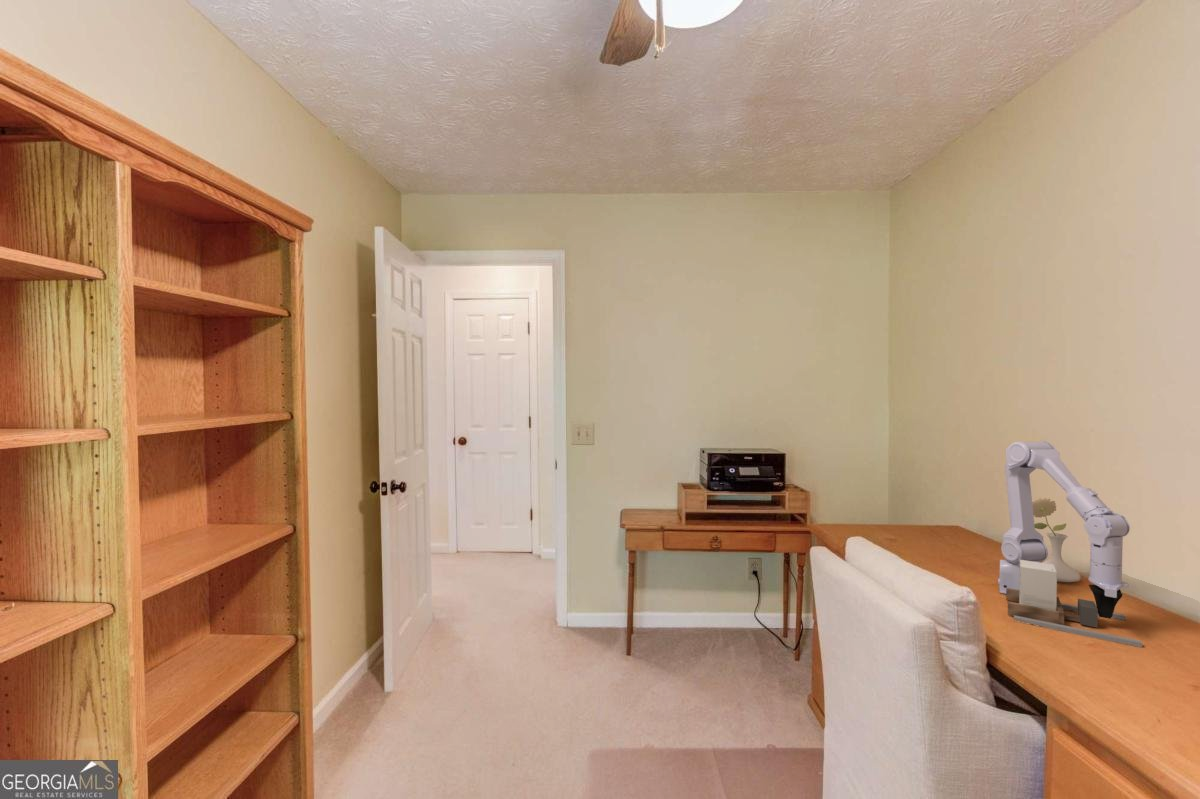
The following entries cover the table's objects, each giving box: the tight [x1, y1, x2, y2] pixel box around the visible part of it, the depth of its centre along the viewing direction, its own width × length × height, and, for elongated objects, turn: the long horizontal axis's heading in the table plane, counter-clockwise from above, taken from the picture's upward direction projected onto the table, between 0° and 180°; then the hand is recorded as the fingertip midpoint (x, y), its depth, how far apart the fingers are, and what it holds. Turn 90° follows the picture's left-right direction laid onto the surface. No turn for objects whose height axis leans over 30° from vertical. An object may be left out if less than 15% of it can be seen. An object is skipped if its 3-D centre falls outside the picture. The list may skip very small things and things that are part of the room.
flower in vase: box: [1032, 497, 1082, 583], centre depth 163 cm, size 13×11×25 cm
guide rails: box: [1013, 602, 1143, 648], centre depth 134 cm, size 23×19×1 cm
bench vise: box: [1005, 588, 1099, 628], centre depth 137 cm, size 18×13×4 cm
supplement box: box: [1018, 560, 1058, 611], centre depth 139 cm, size 7×7×13 cm
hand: (1104, 616), depth 130 cm, fingers closed, pressing on bench vise
